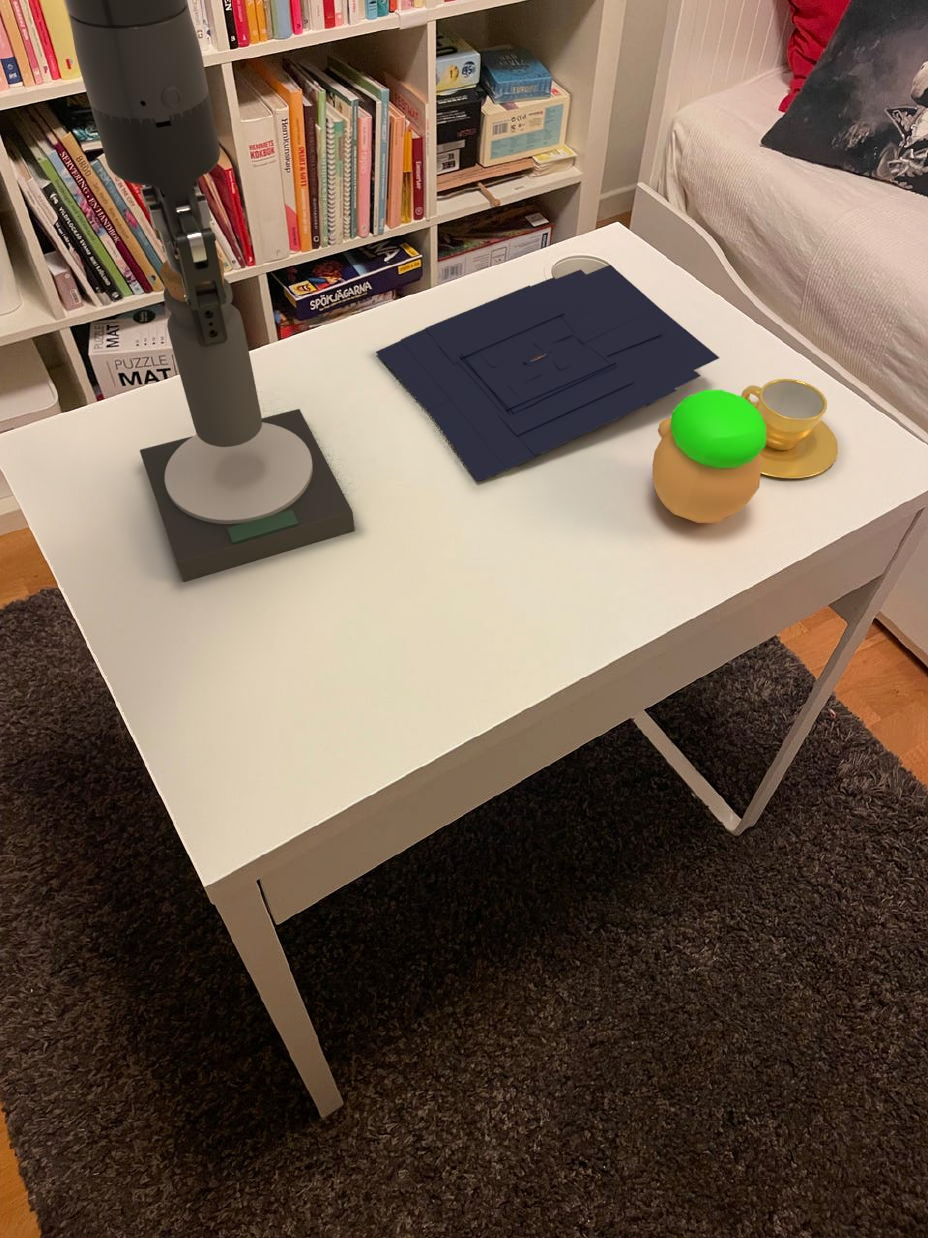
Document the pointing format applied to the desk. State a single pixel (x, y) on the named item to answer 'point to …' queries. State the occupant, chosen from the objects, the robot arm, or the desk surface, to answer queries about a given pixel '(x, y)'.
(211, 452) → the scale
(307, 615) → the desk surface
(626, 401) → the papers
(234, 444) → the bottle
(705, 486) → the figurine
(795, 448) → the cup
